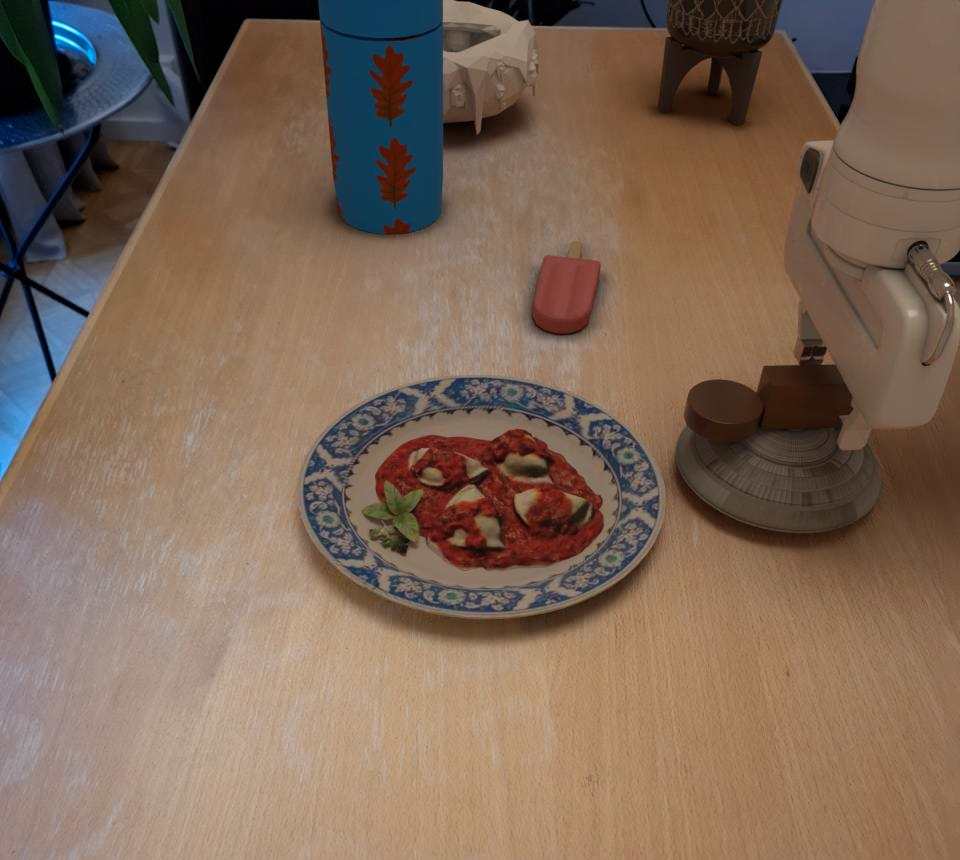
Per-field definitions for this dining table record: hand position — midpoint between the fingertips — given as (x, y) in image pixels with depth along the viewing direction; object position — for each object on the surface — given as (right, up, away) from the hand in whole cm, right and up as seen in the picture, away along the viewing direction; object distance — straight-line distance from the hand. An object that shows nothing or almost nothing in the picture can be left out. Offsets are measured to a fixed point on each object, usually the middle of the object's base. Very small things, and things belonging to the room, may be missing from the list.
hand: (825, 401), depth 69 cm
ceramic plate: (-24, -7, +2) cm, 25 cm away
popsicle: (-16, +15, +22) cm, 31 cm away
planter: (+3, +47, +50) cm, 69 cm away
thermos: (-33, +27, +31) cm, 53 cm away
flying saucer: (-2, -5, +5) cm, 7 cm away
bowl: (-28, +44, +47) cm, 70 cm away
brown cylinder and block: (-3, -1, +1) cm, 3 cm away
